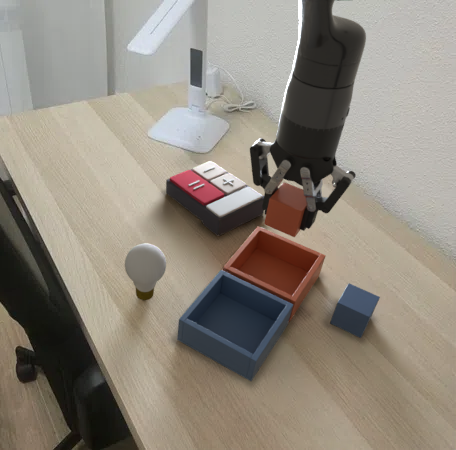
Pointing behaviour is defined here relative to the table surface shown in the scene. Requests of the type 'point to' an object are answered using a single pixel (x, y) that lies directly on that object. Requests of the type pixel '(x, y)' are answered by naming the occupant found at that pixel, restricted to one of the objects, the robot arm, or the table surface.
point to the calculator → (215, 197)
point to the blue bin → (234, 324)
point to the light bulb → (145, 268)
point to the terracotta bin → (276, 266)
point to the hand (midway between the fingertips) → (286, 219)
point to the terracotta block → (286, 209)
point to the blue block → (354, 310)
